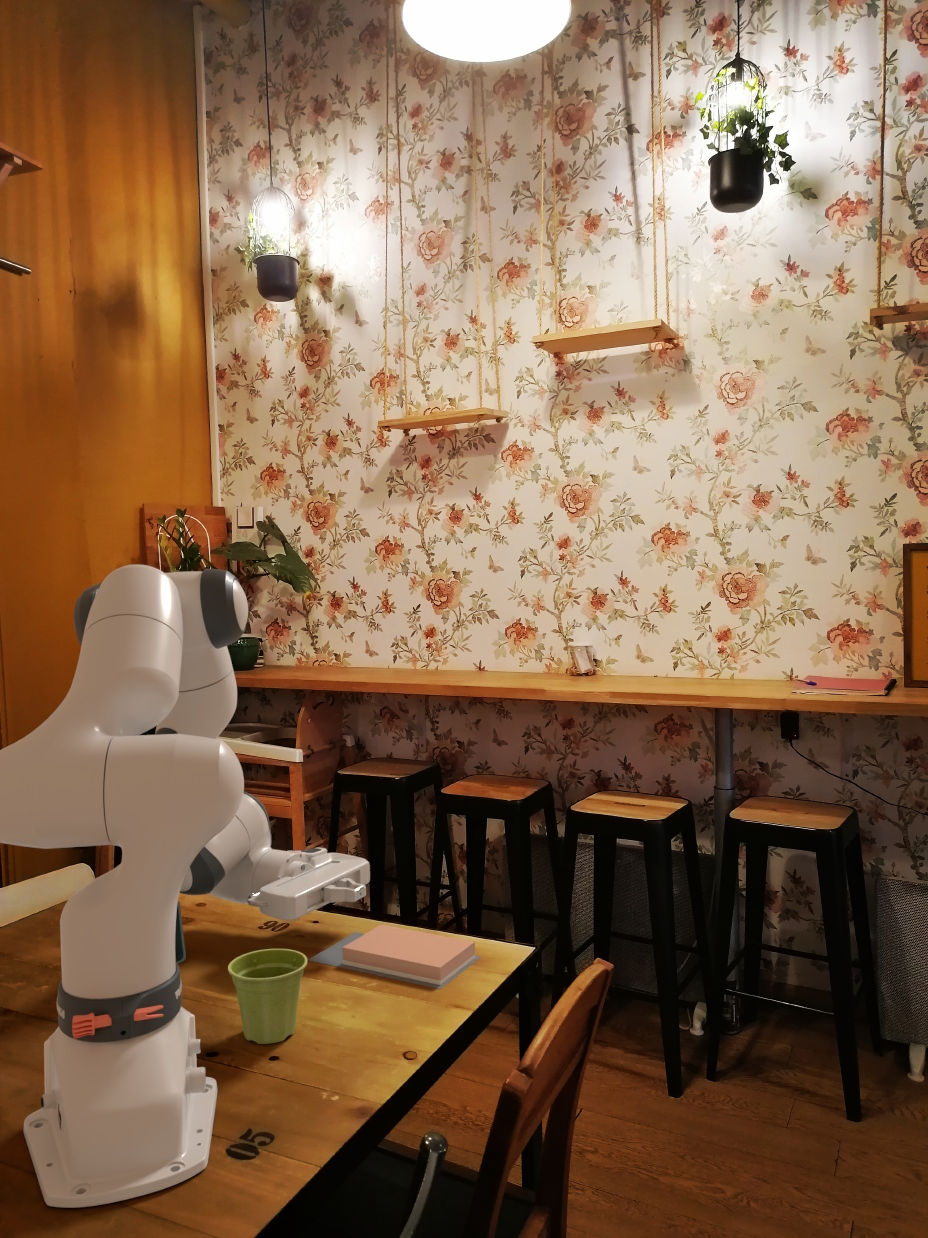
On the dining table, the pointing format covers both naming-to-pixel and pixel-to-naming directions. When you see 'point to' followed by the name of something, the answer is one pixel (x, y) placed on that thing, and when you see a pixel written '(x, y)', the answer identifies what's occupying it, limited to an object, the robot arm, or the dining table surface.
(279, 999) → the plant pot
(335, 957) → the mat
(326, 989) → the dining table surface
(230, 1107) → the dining table surface
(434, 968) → the tile
